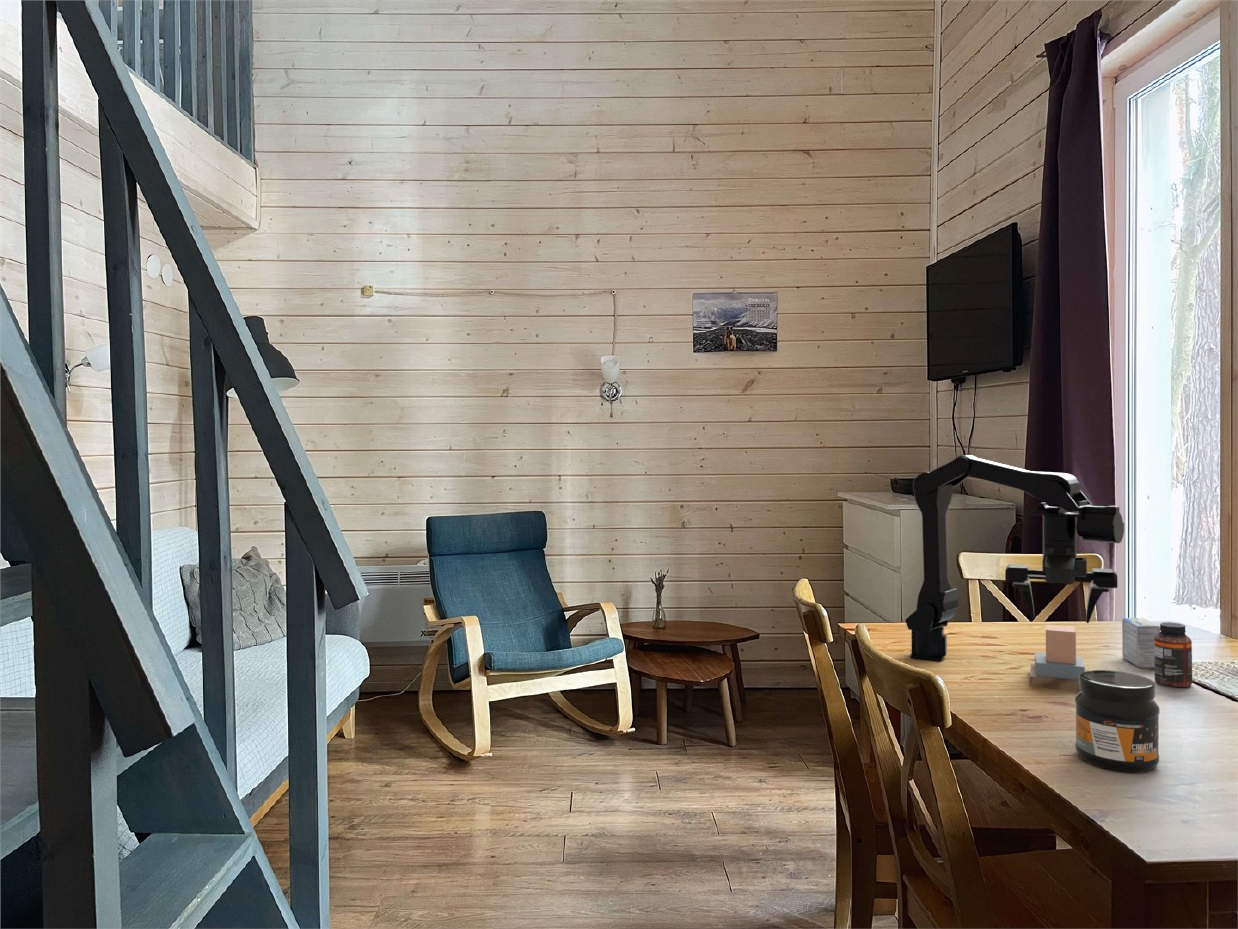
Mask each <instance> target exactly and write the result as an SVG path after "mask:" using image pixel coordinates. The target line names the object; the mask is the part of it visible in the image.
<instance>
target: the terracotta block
mask: <svg viewBox="0 0 1238 929" xmlns="http://www.w3.org/2000/svg"><path fill="white" fill-rule="evenodd" d="M1076 631H1077V630H1076V626H1069V625H1068V626H1067V625H1057V624H1056V625H1055V624H1054V625H1053V624H1045V654H1046V661H1048V662H1059V663H1069V664H1076V656H1077V639H1076V637H1077V635H1076V634H1077V632H1076Z"/></svg>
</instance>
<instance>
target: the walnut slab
mask: <svg viewBox="0 0 1238 929" xmlns="http://www.w3.org/2000/svg"><path fill="white" fill-rule="evenodd" d="M1086 671H1090V669H1089V668H1085V672H1086ZM1029 686H1030V687H1038V688H1047V689H1054V690H1057V689H1058V690H1066V691H1074V692H1075V691H1076V692H1080V691H1081V690H1080V689H1079V680H1074V679H1064V678H1053V677H1042V676H1036V670H1035V663H1030V670H1029Z"/></svg>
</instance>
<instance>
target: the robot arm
mask: <svg viewBox="0 0 1238 929" xmlns="http://www.w3.org/2000/svg"><path fill="white" fill-rule="evenodd" d="M968 477H973V478H976V479H980V480H983V481H987V482H991V483H995V484H998V485H1001V486H1002V485H1003V486H1007V487H1010V488H1014V489H1017V490H1021V491H1022V492H1025V493H1027V494H1028V495H1030V496H1031V497H1032V498H1036V499H1037V500H1040V501H1041V502H1039V503H1038V505H1037V506H1036V507H1035V508H1034V509H1032V510H1031V511H1030V514H1031V515H1032V516H1042V569H1032V568H1031V569H1030V568H1029V564H1014V563H1013V564H1011V563H1010V564H1008V565H1007V566H1006V567H1005V569H1004V570H1005V574H1004V576H1005V580H1004V581H1005V582H1006V583H1012V587H1015V588H1019V591H1020V592H1021V594H1022V596H1023V597H1024V600H1025V602H1026V603H1025V604H1026V605H1027V609H1028V612H1029V614H1030V617H1031V619H1032V620H1035V606H1034V598H1033V593H1032V585H1031V584H1032V583H1031V580H1042V581H1043V580H1044V581H1045V582H1046V583H1048V584H1055V583H1056V584H1057V583H1058V584H1066V585H1074V584H1075V583H1076V582H1080V583H1081V582H1083V583H1089V589H1088V596H1087V603H1086V610H1085V611H1086V612H1085V623H1086V624H1089V623H1090V621H1091V619H1092V615H1093V613H1094V610H1095V606H1096V604H1097V603H1098V601H1099V599H1100V597H1101V596H1102V594H1103V593H1109V592H1110V589H1117V588H1118V574H1117V572H1116V571H1115V570H1114V569H1112V568H1096V567H1095V568H1093V567H1092V568H1091V572H1089V571H1088V570H1087V569H1088V564H1087V563H1088V562H1087V557H1084V556H1083V557H1080V556H1077V554H1078V552H1077V551H1078V550H1077V549H1078V548H1077V547H1078V546H1077V545H1078V542H1077V541H1078V540H1077V539H1078V538H1077V535H1078V537H1080V538H1082V540H1083V541H1084V542H1094V543H1106V544H1107V543H1109V544H1121V543H1122V540H1123V539H1124V534H1125V523H1124V522H1123V516H1122V513H1121V512H1120V506H1119V505H1108V506H1104V505H1103V506H1102V505H1093V503H1092V502H1091V501H1090V500H1089V499H1088V498H1087V496H1086V494H1084V493H1083V491H1082V490H1081V484H1080V482H1079V480H1078V478H1077V477H1076V476H1074V475H1073V474H1070V473H1065V472H1053V471H1052V472H1051V471H1035V470H1034V471H1033V470H1032V471H1031V470H1027V469H1024V468H1021V467H1020V468H1019V467H1016V466H1011V465H1009V464H1003V463H1000V462H996V461H992V460H987V459H983V458H978V457H977V456H975V455H971V454H965V455H964V454H963V455H959V456H957V457H955V458H954V459H953V460H951V461H949V462H948V463H946V464H943V465H941V466H939V467H938V468H935V469H933V470H932V471H927V472H922V473H920V474H918V475H917V476H916V477H915V478H914V479H913V481H912V491H913V494H914V495H913V496H914V501H915V503H916V505H917V507H918V509H919V511H920V513H921V524H922V528H921V530H922V558H923V559H922V562H923V581H922V585H921V586H920V589H919V592H918V595H917V602H916V609H915V610H914V611H913V612H912V613H911V614H910V615H909V616H908V617H907V618H905V624H906V627H907V629H908V630H909V631H911V633H910V634H911V639H910V640H911V653H910V655H909V658H911V657H912V658H911V659H918V660H919V659H921V660H928V661H929V660H931V661H940V662H942V661H943V660H944V659H945V658H944V657H946V656H947V655H948V648H947V647H948V645H947V644H948V637H947V636H948V635H947V634H945V627H947V626H948V624H949V621H950V620H951V619H953V617H954V616H956V614H957V609H959V608H960V604H959V600H958V597H959V589H958V588H952V587H951V585H950V582H949V580H948V559H947V558H948V556H947V524H946V523H947V519H946V517H947V516H946V514H947V511H948V508H949V506H950V504H951V501H952V495H953V488H955V487H956V486H958V485H959V484H961V483H962V482H963V481H965V480H966V479H967V478H968ZM1049 505H1050V506H1049ZM1051 505H1053V506H1051ZM1055 505H1056V506H1055Z"/></svg>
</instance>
